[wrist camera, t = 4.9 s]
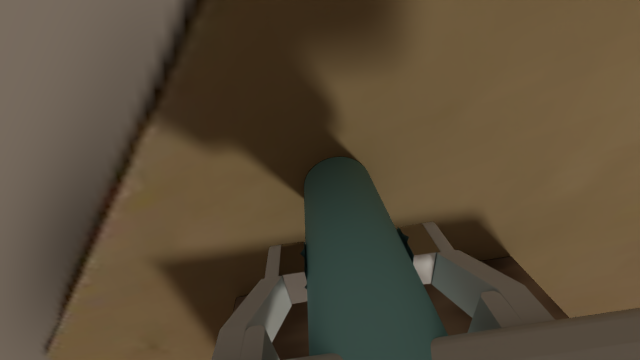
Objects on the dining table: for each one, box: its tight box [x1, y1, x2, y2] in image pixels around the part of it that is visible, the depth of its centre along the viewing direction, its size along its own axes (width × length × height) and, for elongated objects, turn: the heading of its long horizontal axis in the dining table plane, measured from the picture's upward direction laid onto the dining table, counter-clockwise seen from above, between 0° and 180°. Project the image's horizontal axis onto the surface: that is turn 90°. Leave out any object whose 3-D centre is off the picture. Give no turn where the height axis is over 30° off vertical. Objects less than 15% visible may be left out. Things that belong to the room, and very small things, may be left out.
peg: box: [304, 157, 448, 360], centre depth 9 cm, size 4×4×12 cm
